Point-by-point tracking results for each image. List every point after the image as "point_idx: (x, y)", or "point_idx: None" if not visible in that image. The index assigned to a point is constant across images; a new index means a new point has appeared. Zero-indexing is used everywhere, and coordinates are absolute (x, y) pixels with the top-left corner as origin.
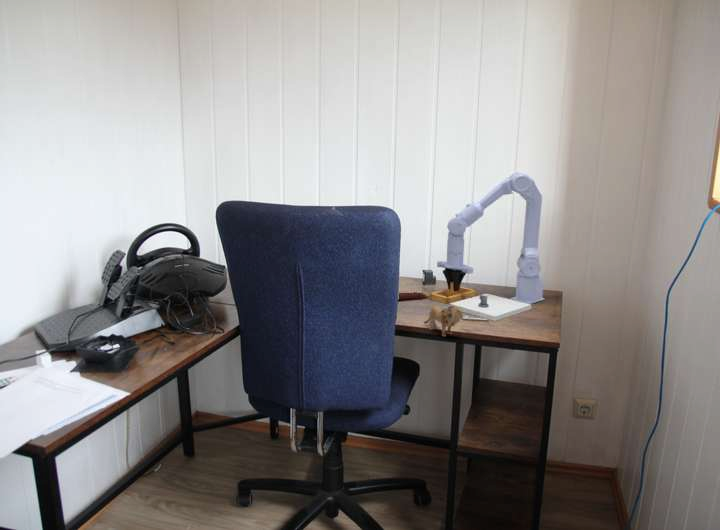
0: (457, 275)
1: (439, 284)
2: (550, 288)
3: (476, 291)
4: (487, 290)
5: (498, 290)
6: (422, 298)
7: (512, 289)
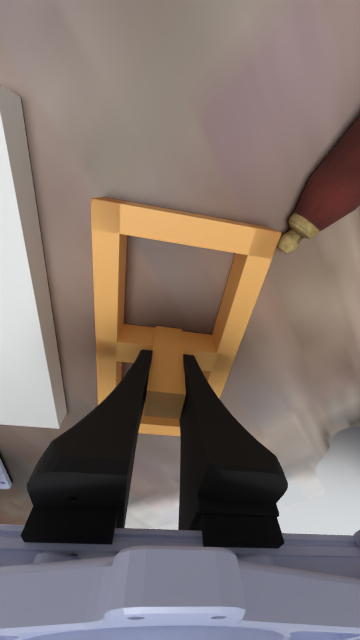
0: (50, 446)
1: (307, 442)
2: None
3: None
4: None
5: None
6: (308, 181)
7: None
